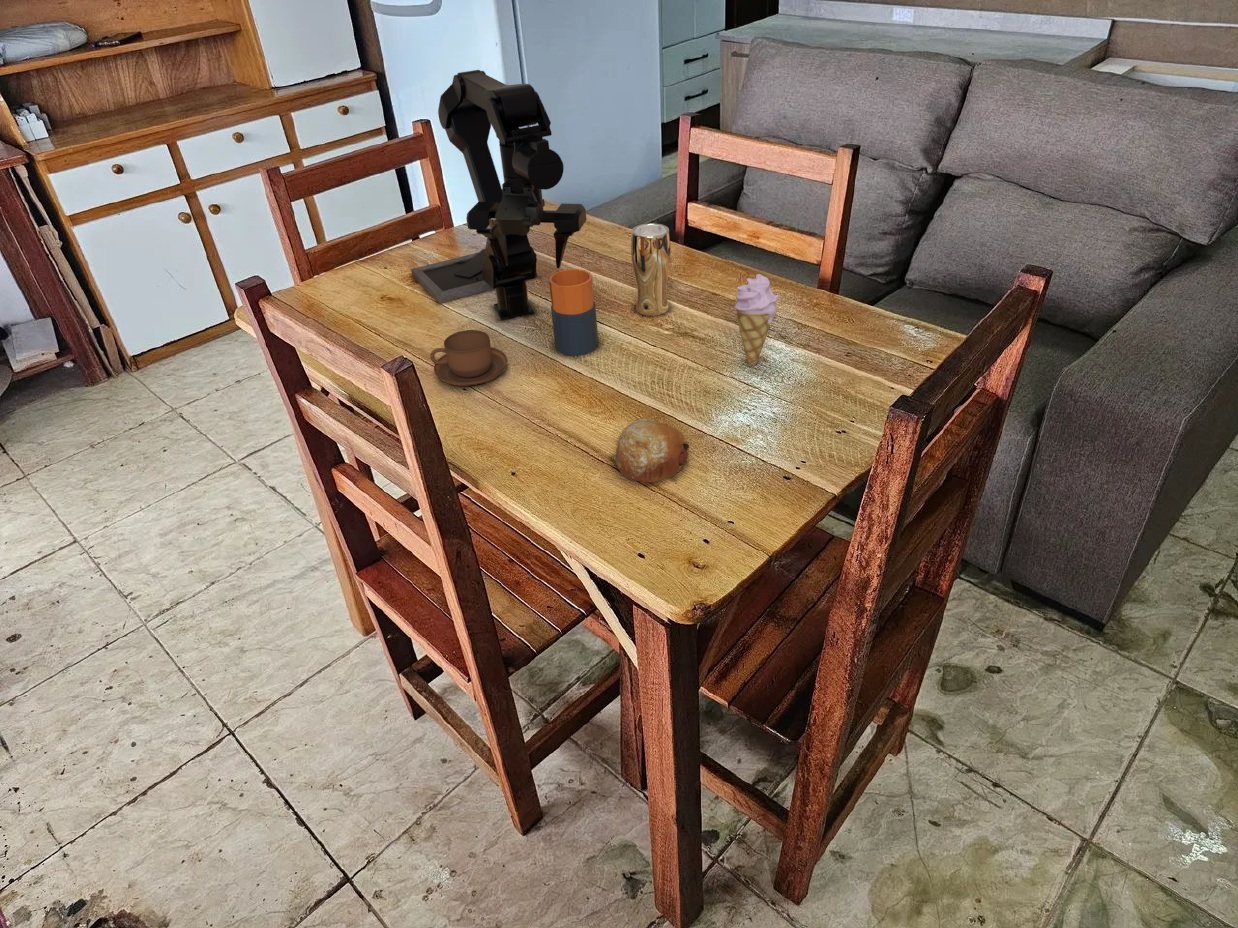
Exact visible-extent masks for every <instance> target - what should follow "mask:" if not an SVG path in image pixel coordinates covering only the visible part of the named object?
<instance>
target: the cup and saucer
mask: <svg viewBox="0 0 1238 928" xmlns="http://www.w3.org/2000/svg"><path fill="white" fill-rule="evenodd" d="M443 346H444V347H437V348H434V349H432V351H431V352H430V355H429V358H430V361H431V362H432V363H433V364H434V365H433V372H434V374H435V375H436V377H437V378H438V379H439V380H441V381H443V382H444V383H446V384H450V385H454V386H461V387H467V386H470V387H471V386H476V385H481V384H485V383H487V382H490V381H492V380H494V379H496V378H497V377H498V376H500V375H501V374H502V373H503V372H504V371H505V369H506V368H507V365H508V357H507V355H506V353H504V351H502V350H500V349H498V348H495V347H492V346H491V339H490V336H489V334H488V333H487V332H485V331H482V330H478V329H467V330H461V331H457V332H455V333H452V334H449V335H448V336H447V337H446V338H444V340H443ZM437 353H444V354H443V355H442V356H440V357H439V358H438V359H436V358H435V356H436V354H437Z"/></svg>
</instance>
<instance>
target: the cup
mask: <svg viewBox="0 0 1238 928" xmlns="http://www.w3.org/2000/svg"><path fill="white" fill-rule="evenodd" d="M593 283H594V282H593V275H592V273H591V272H589V271H588V270H585V269H579V268H568V269H561V270H559V271H556V272H554V273H552V274H551V275H550V276H549V278H548V284H549V294H550V301H551V302H550V303H551V306H552V308H553V310H554V311H556V312H557V313H560V314H566V315H574V314H581V313H584V312H587V311H589V310H590V309H592V307H593V306H594V302H595V296H594V284H593Z"/></svg>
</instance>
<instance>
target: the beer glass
mask: <svg viewBox="0 0 1238 928" xmlns="http://www.w3.org/2000/svg"><path fill="white" fill-rule="evenodd" d="M670 239H671V238H670V229H669V227H668V226H666V225H665V224H662V223H643V224H638V225H636V226H634V227H633V228H632V229H631V241H630V242H631V243H630V254H631V265H632V270H633V274H634V275H633V276H634V280H635V283H636V290H637V297H636V304H635V310H636V312H637V313H638V314H640V315H643V316H646V317H647V316H648V317H655V316H660V315H664V314H665V313H666V312H668V311H669V308H670V306H669V302H668V295H667V284H668V278H669V274H670V273H669V272H670V265H671V240H670Z"/></svg>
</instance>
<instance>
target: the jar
mask: <svg viewBox="0 0 1238 928" xmlns="http://www.w3.org/2000/svg"><path fill="white" fill-rule="evenodd" d="M596 306H597V305H596V303H595V301H594V306H593V307H592V309H590V310H589V311H587V312H584V313H581V314H574V315H566V314H560V313H557V312H556V311H554V310H553V308H552V305H551V306H550V310H551V319H552V329H553V338H554V347H555V350H556V351H557V352H558V353H559V354H561V355H565V356H573V357H574V356H576V357H577V356H583V355H587V354H590V353H592V352H593V351H595V350H596V349H597V348H598V346H599V334H598V321H597V319H598V318H597V307H596Z"/></svg>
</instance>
